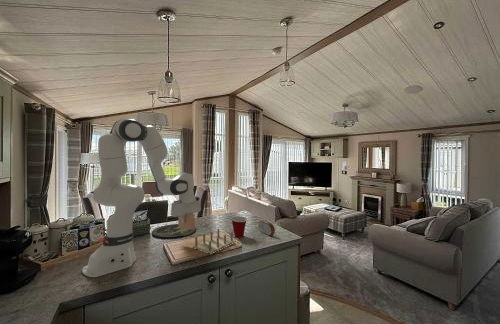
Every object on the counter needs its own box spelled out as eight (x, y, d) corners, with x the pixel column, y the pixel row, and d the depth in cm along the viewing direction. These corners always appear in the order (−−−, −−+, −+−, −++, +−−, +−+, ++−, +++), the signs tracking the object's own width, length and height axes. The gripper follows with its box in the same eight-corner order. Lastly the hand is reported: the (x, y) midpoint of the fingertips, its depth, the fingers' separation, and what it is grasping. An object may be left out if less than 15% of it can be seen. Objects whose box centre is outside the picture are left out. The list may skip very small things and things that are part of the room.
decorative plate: (143, 236, 146) (162, 223, 176) (143, 239, 146) (162, 225, 176) (189, 237, 146) (200, 223, 176) (189, 240, 146) (200, 225, 176)
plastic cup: (242, 240, 143) (241, 221, 143) (227, 237, 148) (227, 219, 148) (250, 235, 152) (250, 217, 152) (237, 232, 158) (236, 215, 157)
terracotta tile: (191, 229, 134) (191, 214, 134) (178, 226, 141) (178, 212, 141) (194, 228, 136) (194, 213, 136) (181, 225, 143) (181, 211, 143)
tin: (275, 236, 149) (275, 223, 149) (271, 237, 147) (271, 224, 147) (261, 230, 162) (261, 218, 162) (257, 231, 160) (257, 219, 160)
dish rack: (211, 254, 122) (211, 242, 122) (192, 248, 131) (192, 237, 130) (235, 243, 138) (235, 232, 138) (217, 238, 147) (217, 228, 147)
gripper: (175, 201, 129) (175, 226, 129) (202, 197, 145) (202, 219, 145) (168, 200, 132) (168, 224, 132) (195, 196, 149) (195, 217, 149)
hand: (186, 221), depth 139 cm, fingers closed on terracotta tile, 2 cm apart
